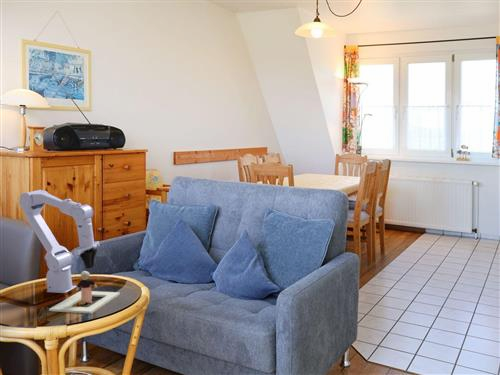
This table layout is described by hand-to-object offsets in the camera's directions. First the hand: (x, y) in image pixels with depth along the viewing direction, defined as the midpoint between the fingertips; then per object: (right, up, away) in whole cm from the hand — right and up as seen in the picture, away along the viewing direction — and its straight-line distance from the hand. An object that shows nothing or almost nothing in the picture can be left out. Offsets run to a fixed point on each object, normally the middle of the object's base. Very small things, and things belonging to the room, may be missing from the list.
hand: (89, 267), depth 201 cm
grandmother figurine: (+3, -12, -10) cm, 16 cm away
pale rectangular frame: (+3, -12, -10) cm, 16 cm away
